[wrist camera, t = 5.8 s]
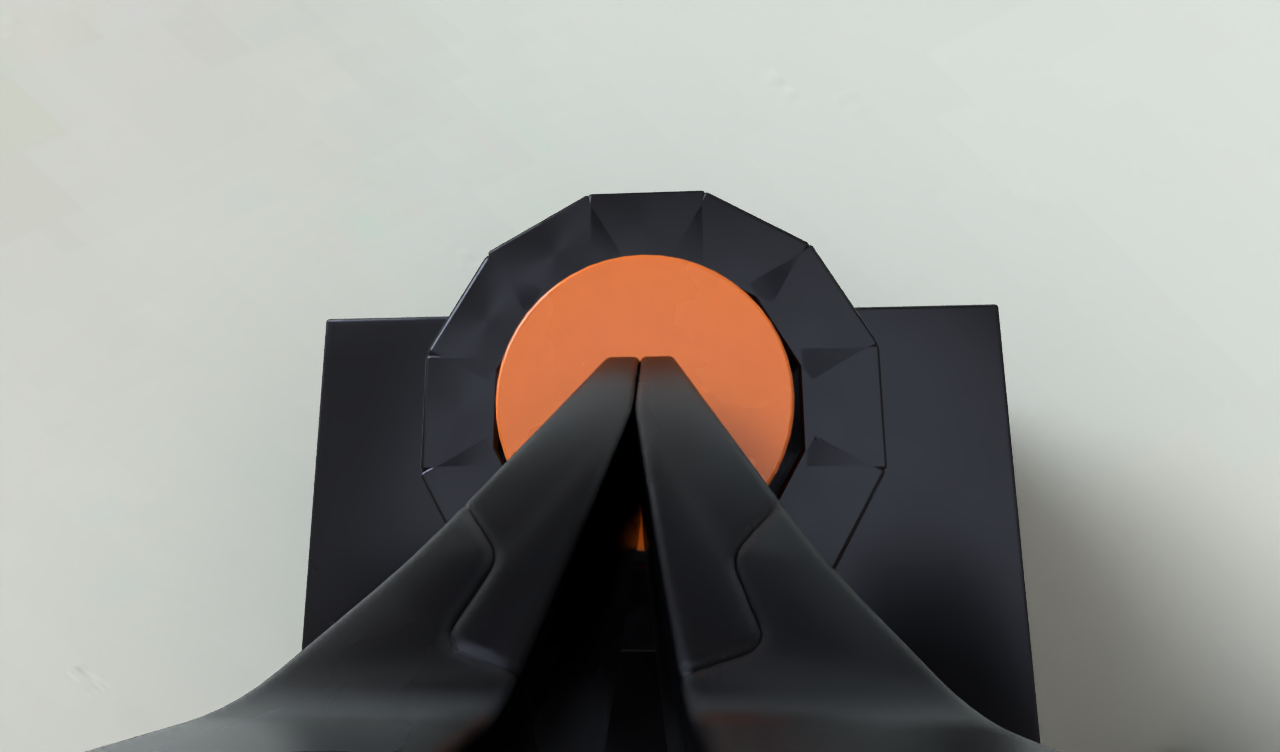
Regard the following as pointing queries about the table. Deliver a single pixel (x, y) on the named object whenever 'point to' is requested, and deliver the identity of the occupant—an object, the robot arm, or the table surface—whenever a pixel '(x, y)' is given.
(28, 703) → the table surface
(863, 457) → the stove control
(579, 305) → the button
